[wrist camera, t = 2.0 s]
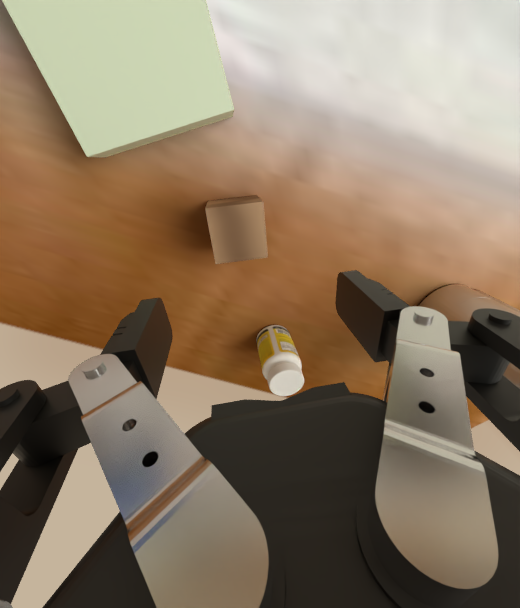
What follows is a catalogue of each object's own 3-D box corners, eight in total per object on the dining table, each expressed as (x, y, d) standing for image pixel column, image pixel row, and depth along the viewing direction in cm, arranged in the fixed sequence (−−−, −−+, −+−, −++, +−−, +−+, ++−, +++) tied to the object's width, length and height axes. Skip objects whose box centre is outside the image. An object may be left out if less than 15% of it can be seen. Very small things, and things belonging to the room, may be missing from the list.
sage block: (175, -99, 17) (163, -166, 13) (232, 117, 23) (234, 109, 19) (6, -41, 17) (-48, -92, 14) (107, 157, 23) (86, 156, 20)
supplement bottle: (260, 354, 36) (269, 403, 29) (252, 329, 34) (260, 374, 27) (292, 346, 36) (310, 392, 29) (287, 320, 34) (304, 363, 27)
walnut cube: (256, 195, 26) (263, 201, 22) (260, 242, 28) (267, 257, 24) (207, 200, 26) (205, 208, 21) (216, 248, 28) (215, 264, 24)
